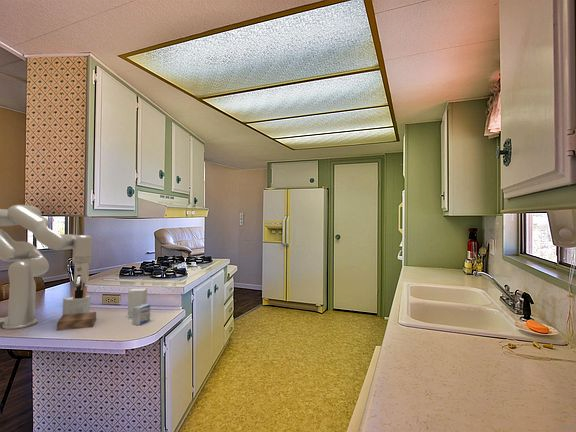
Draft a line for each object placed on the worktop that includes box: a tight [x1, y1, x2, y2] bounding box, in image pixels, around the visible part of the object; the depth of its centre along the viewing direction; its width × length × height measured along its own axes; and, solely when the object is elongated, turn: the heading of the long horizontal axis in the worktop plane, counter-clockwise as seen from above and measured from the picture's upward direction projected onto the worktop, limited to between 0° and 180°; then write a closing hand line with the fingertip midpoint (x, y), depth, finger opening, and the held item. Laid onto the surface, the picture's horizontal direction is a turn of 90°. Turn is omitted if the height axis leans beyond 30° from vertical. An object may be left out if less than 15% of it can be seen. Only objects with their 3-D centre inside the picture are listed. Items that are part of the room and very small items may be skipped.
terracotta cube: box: [72, 285, 88, 299], centre depth 144 cm, size 5×5×5 cm
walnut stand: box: [56, 311, 97, 332], centre depth 144 cm, size 14×12×4 cm
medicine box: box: [131, 303, 151, 326], centre depth 150 cm, size 8×4×9 cm, turn 168°
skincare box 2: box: [127, 287, 148, 319], centre depth 160 cm, size 8×6×15 cm
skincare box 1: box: [62, 295, 91, 315], centre depth 156 cm, size 10×6×10 cm, turn 152°
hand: (79, 296), depth 144 cm, fingers closed on terracotta cube, 5 cm apart
